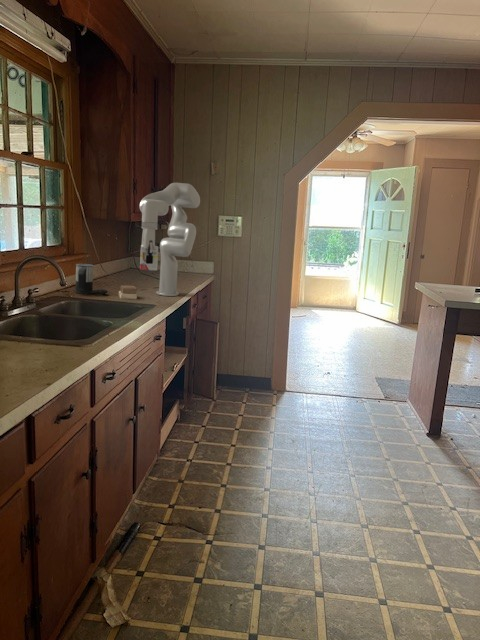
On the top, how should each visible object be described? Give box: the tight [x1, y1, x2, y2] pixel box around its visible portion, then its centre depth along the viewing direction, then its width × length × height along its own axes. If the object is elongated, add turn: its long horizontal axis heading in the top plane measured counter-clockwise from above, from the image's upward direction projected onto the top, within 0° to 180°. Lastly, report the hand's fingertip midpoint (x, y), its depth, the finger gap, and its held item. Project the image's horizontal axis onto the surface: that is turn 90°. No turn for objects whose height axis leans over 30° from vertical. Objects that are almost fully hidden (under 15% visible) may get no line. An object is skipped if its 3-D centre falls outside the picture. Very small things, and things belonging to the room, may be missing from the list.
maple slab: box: [118, 290, 138, 300], centre depth 252 cm, size 8×8×3 cm
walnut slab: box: [120, 285, 137, 294], centre depth 252 cm, size 7×7×3 cm
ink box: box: [139, 244, 159, 271], centre depth 239 cm, size 9×5×12 cm, turn 100°
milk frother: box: [74, 263, 108, 295], centre depth 252 cm, size 14×16×15 cm
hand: (147, 262), depth 240 cm, fingers closed on ink box, 5 cm apart
